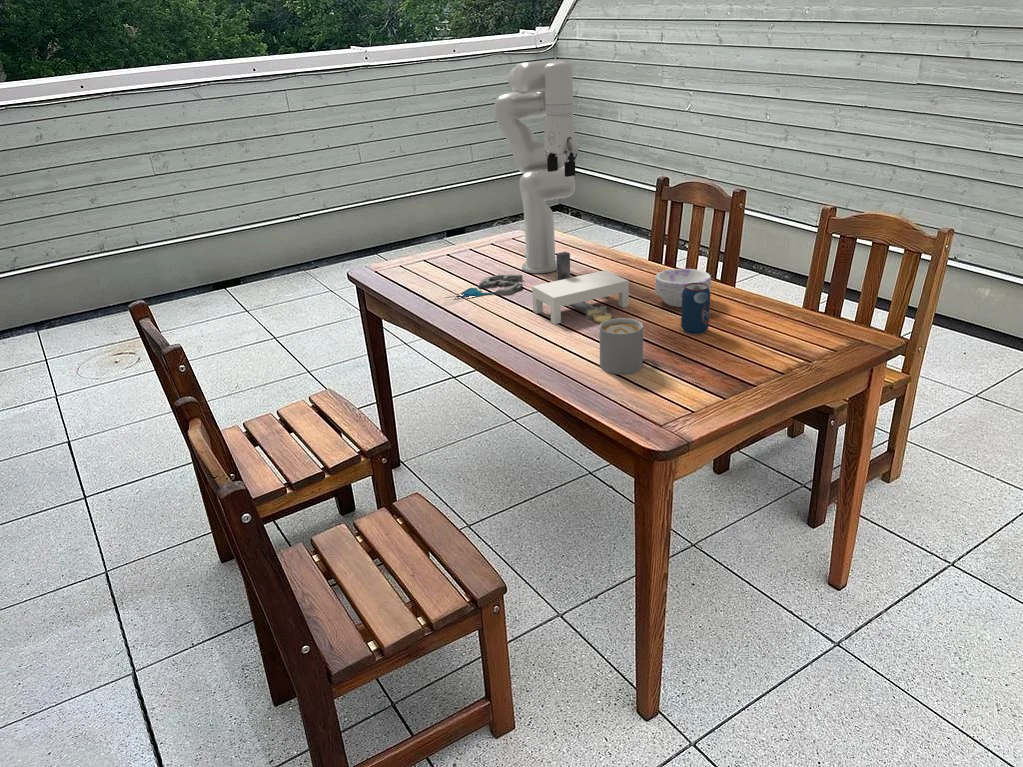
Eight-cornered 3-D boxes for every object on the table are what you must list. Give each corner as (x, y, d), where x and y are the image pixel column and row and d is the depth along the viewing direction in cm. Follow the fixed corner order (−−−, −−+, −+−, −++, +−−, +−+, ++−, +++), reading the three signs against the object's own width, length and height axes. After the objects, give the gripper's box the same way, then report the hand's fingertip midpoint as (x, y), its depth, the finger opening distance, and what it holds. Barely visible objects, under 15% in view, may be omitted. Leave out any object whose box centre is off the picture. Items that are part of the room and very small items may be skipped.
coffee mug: (622, 378, 175) (622, 337, 171) (591, 366, 182) (590, 326, 178) (661, 360, 182) (662, 321, 178) (629, 349, 190) (629, 311, 185)
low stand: (533, 311, 218) (532, 286, 215) (604, 294, 227) (604, 270, 224) (554, 324, 208) (553, 297, 205) (628, 306, 217) (628, 280, 214)
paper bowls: (686, 290, 227) (687, 263, 224) (721, 304, 215) (722, 276, 211) (643, 300, 221) (644, 273, 218) (676, 315, 209) (677, 287, 205)
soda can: (709, 336, 194) (711, 290, 189) (680, 335, 196) (682, 290, 191) (707, 326, 200) (710, 281, 195) (680, 325, 202) (682, 281, 197)
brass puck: (589, 320, 210) (589, 314, 209) (605, 316, 212) (605, 311, 211) (598, 325, 206) (598, 320, 205) (615, 322, 208) (615, 316, 207)
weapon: (537, 288, 237) (515, 276, 249) (537, 282, 236) (514, 270, 248) (434, 315, 224) (415, 300, 236) (433, 309, 223) (414, 295, 235)
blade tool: (553, 301, 225) (551, 254, 219) (571, 297, 227) (570, 250, 221) (587, 319, 210) (587, 269, 204) (606, 315, 212) (606, 265, 206)
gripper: (532, 109, 219) (535, 171, 226) (563, 114, 205) (565, 179, 212) (555, 106, 222) (557, 167, 229) (587, 111, 208) (588, 176, 215)
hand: (561, 173), depth 221 cm, fingers open, 9 cm apart
